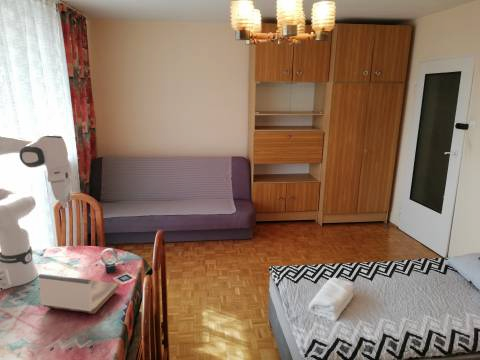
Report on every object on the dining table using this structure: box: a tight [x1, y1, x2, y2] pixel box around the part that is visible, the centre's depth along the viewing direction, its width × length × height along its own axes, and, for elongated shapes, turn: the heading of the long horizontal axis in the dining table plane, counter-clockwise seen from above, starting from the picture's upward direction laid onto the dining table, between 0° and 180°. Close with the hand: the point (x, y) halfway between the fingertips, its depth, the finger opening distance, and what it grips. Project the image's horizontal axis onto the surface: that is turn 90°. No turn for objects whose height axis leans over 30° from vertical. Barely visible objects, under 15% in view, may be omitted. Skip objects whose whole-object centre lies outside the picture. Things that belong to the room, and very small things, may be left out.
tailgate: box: [38, 273, 92, 311], centre depth 129 cm, size 21×2×12 cm, turn 80°
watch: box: [100, 247, 119, 274], centre depth 165 cm, size 6×8×11 cm
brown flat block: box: [43, 280, 120, 315], centre depth 140 cm, size 22×18×4 cm
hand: (67, 204), depth 144 cm, fingers open, 8 cm apart
